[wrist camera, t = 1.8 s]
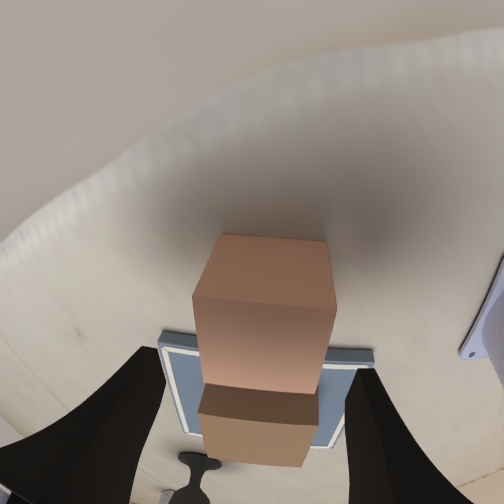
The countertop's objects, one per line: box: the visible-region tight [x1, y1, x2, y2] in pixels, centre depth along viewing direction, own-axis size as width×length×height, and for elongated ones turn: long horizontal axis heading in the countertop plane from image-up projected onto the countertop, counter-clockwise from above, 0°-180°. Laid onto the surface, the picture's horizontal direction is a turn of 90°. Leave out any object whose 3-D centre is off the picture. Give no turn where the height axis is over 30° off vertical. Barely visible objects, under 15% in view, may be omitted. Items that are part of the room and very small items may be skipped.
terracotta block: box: [192, 234, 337, 394], centre depth 14 cm, size 5×5×5 cm
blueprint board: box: [157, 331, 375, 467], centre depth 20 cm, size 13×12×4 cm
